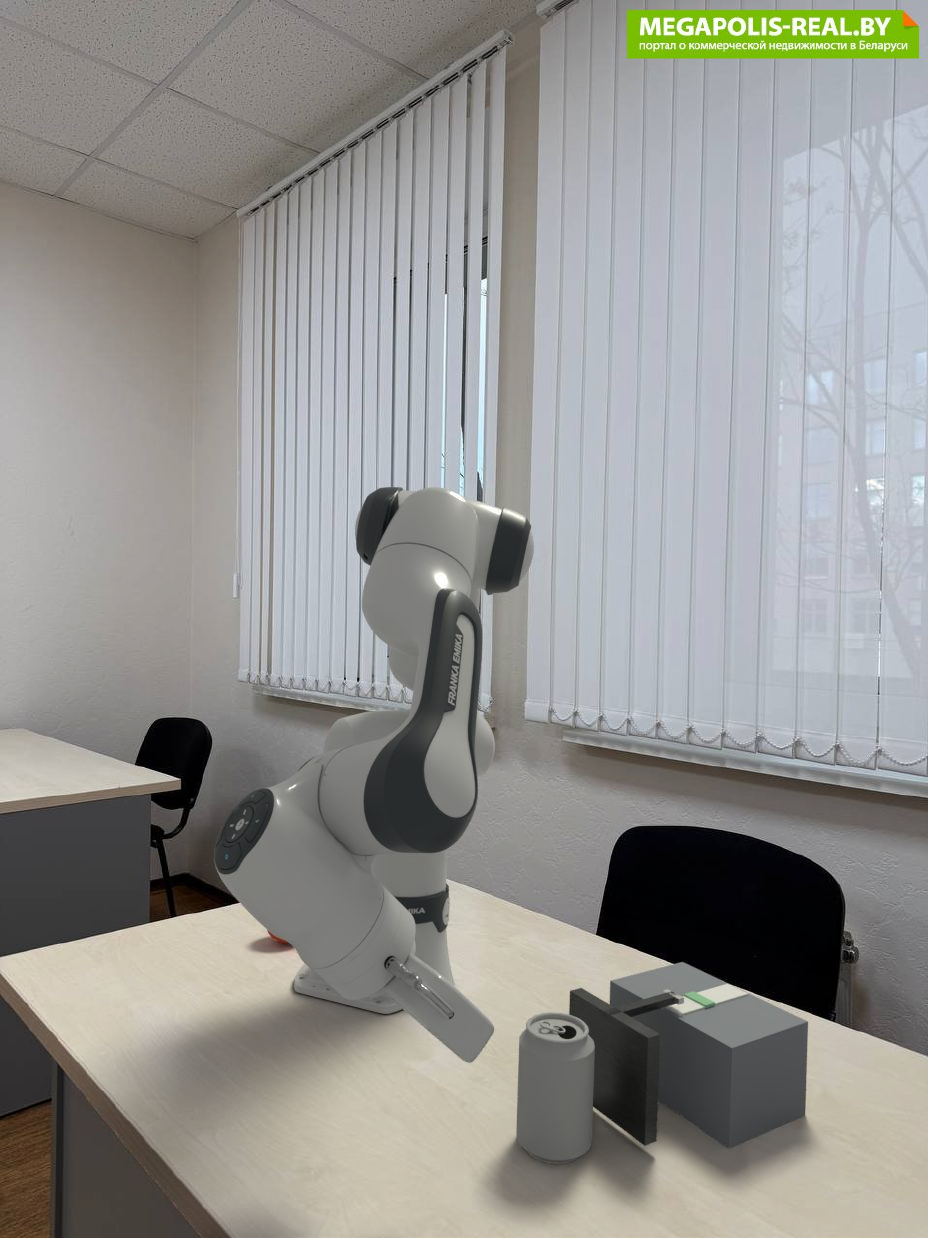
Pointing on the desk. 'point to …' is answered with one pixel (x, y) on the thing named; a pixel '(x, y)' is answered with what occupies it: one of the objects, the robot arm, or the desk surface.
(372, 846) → the robot arm
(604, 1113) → the gauge plunger
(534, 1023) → the can
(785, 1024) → the gauge housing
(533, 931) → the desk surface
